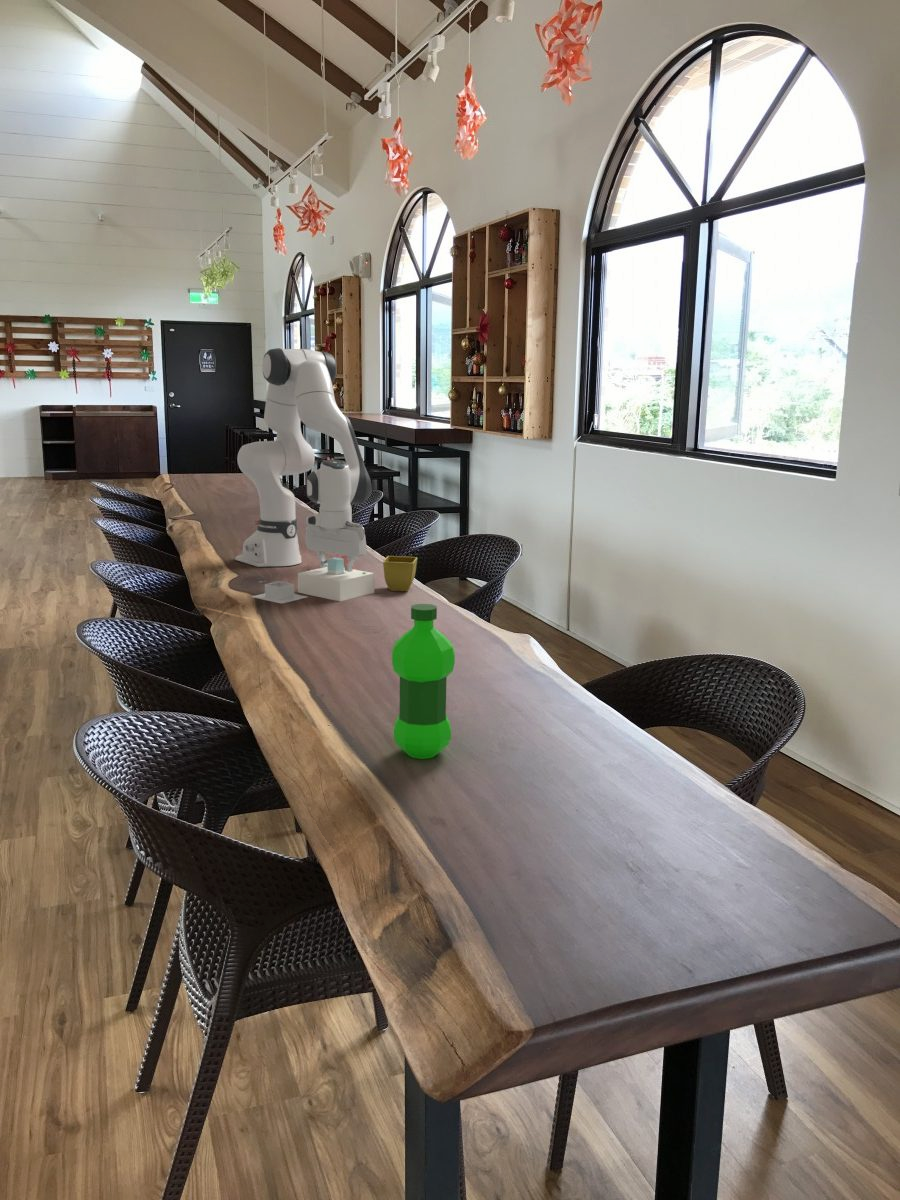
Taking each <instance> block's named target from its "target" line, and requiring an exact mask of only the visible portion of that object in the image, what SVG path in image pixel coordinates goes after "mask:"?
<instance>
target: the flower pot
mask: <svg viewBox="0 0 900 1200" xmlns="http://www.w3.org/2000/svg"><path fill="white" fill-rule="evenodd" d="M417 564H418V557H417V556H416V557H415V556H399V555H398V556H397V555H396V556H395V555H387V556H386V558H384V559H383V561H382V565H383V575H384V580H385V584H386V586H387V589H388V590H390V591H391V592H404V591H406V592H408V591H409V590H410V588H411V587H412V585H413V581H414V580H415V576H416V571H417Z"/></svg>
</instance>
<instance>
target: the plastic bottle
mask: <svg viewBox="0 0 900 1200" xmlns="http://www.w3.org/2000/svg"><path fill="white" fill-rule="evenodd" d="M410 611H411V612H410V619H411V620H413V621H414V623H413V627H412V628H410V629H409V630H408V631H407V632H404V634H403V635H401V636H400V637H399V638H398V639H397V640H396V641H395V642H394V645H393V647H392V654H391V665H392V669H393V671H394V672H395V673H396V674H397V676H399V713H398V715H397V716H396V719H395V721H394V725H393V740H394V742H395V744H396V745H397V747H398V748H399V749H401V750H402V751H403V752H404V753H406V755H407V756H409V757H411V758H413V759H420V760H425V759H432V758H434V757H435V756H437V755H438V754H439V753H441V752H442V751H443V750H444V749H446V747H448V745H449V743H450V741H451V739H452V728H451V723H450V719H449V717H448V715H447V677H448V676H449V675H450V674H451V673H452V672H453V670H454V666H455V659H456V658H455V657H456V655H455V649H454V646H453V644H452V642H451V640H450V639H448V638H447V637H446V636H445V635H444V634H443V633H442V632H441V631H439V630H438V629H437V628H436V627H434V621H435V620H437V617H438V607H437V605H435V604H431V603H430V604H428V603H417V604H414V605H413V604H412V605H410Z"/></svg>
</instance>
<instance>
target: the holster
mask: <svg viewBox="0 0 900 1200" xmlns="http://www.w3.org/2000/svg"><path fill="white" fill-rule="evenodd" d="M250 597H251V598H255V599H260V600H264V601H268V602H273V603H277V604H285V603H290V602H294V601H299V600H301V599H306V598H308V596H307V595H302V594H297V593H295V584H294V583H290V582H286V581H274V582H270V583H266V584H264V593H260V594H257V595H252V596H250Z"/></svg>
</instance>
